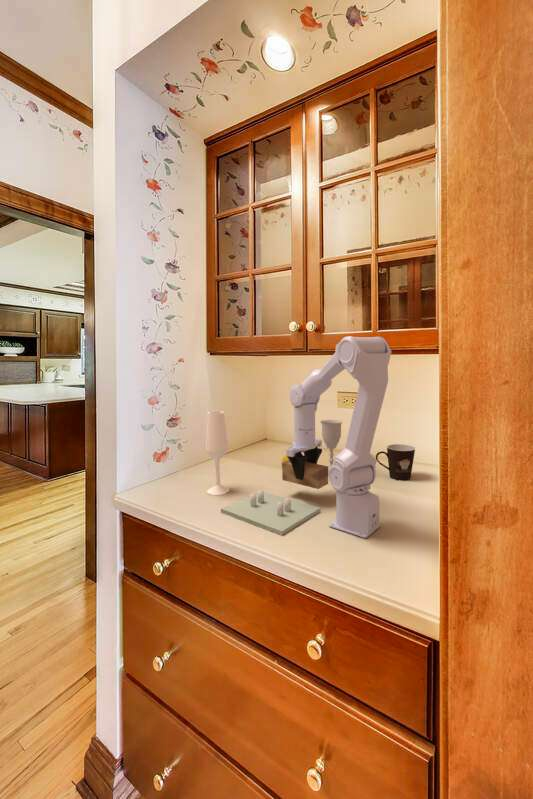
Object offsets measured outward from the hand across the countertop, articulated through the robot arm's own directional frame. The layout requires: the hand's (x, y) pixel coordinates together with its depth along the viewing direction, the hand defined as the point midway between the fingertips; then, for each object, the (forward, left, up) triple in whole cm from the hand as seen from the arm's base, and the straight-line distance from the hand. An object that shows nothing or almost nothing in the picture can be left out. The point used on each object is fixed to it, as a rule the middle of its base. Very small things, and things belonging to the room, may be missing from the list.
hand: (305, 476), depth 103 cm
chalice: (+5, -23, -7) cm, 24 cm away
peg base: (+2, +13, -7) cm, 15 cm away
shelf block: (0, 0, -2) cm, 2 cm away
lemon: (+15, -13, -7) cm, 21 cm away
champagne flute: (+24, +11, -7) cm, 27 cm away
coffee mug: (-13, -33, -7) cm, 36 cm away
